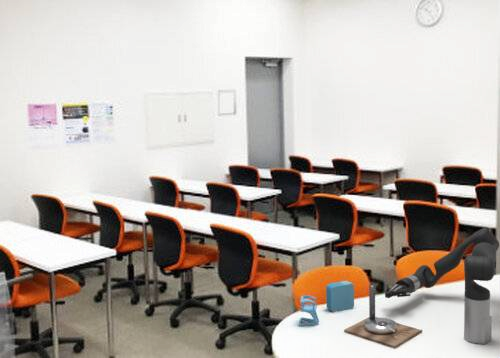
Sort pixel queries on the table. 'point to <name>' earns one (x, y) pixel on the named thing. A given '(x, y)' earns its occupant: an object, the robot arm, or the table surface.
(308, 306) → the chair
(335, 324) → the table surface
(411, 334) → the base plate
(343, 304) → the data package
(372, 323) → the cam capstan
